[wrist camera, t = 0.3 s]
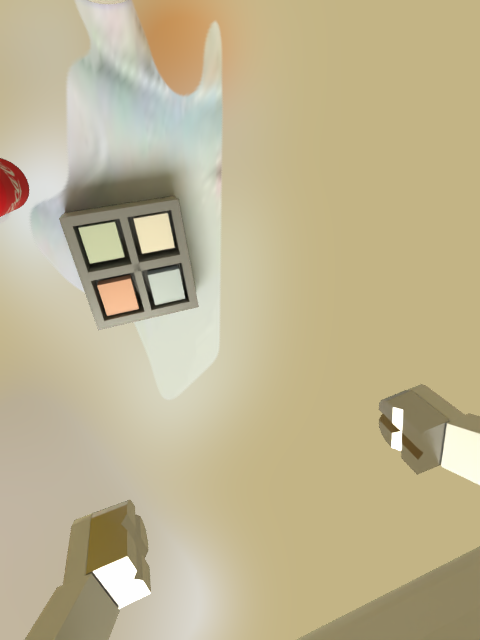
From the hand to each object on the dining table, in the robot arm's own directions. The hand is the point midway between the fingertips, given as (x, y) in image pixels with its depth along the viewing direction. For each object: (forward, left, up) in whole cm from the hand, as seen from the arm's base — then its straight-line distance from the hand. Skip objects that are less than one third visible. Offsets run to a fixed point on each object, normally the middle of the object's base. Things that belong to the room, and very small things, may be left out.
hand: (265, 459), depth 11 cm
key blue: (+9, 0, -44) cm, 45 cm away
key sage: (+1, -7, -44) cm, 45 cm away
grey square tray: (+5, -4, -46) cm, 47 cm away
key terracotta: (+9, -7, -44) cm, 46 cm away
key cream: (+1, 0, -44) cm, 44 cm away
